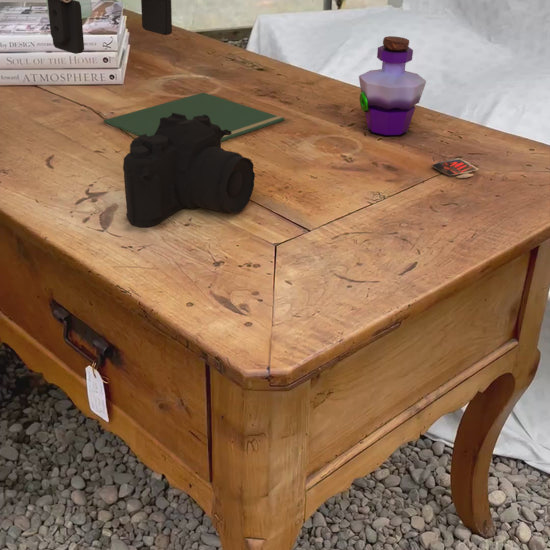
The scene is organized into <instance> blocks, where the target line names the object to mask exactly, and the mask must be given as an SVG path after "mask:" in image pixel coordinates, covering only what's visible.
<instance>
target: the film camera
mask: <svg viewBox="0 0 550 550" xmlns="http://www.w3.org/2000/svg"><path fill="white" fill-rule="evenodd" d="M224 135H231V131H229V130H226V129H225V130H221V129H220V127H219V126H218V125H215V124H212V123H211V121H210V118H209V117H208V116H207V115H203V116H195V117H193V119H192V120H187V118H186V116H185V115H182V114H177V113H172V115H171V116H169V117H167V118H166V117H163V118H160V124H159V127H158V129H157V131H156V132H155V134H154V135H152V136H147V135H146V134H144V135H141V136H137V137H135V138H134V139H132V140H131V142H130V144H129V152H128V153H127V154H126V155H125V156H124V157H123V164H122V170H123V181H124V182H123V183H124V194H125V205H126V215H125V217H126V219H127V221H128V223H130V225H131V226H135V227H138V228H142V229H143V228H150V227H154V226H157V225H158V224H160V223H162V222H163V221H165V220H167V219H168V218H169V217H171V216H172V215H174V214H175V213H177V212H179V211H181V210H183V209H187V208H189V209H190V210H196V209H199V208H201V209H205V210H212V211H216V212H218V213H222V214H228V213H232V214H237V213H240V212H242V211H243V210H244V209H245V208H246V206H247V205H248V204H249V202H250V200H251V198H252V194H253V192H254V188H255V178H256V173H255V172H254V166H255V165H254V162H253V161H252V159H250V158H249V157H244V156H243V155H242V154H240V153H238V152H235V151H229V150H225V149H224V148H222V142H221V138H222V137H223V136H224Z"/></svg>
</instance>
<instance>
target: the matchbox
mask: <svg viewBox="0 0 550 550" xmlns="http://www.w3.org/2000/svg"><path fill="white" fill-rule="evenodd" d="M431 167H432V168H434V169H436V171H439V172H440V173H442V174H445V175H446V176H449V177H450V176H454V177H456V178H457V179H458V178H459V179H463V178H464V179H466V178H467V179H468V178H470V177H473V176H474V175H475V173H473V172H474V171H475V172H476V171H478V170H479V168H477V167H476V166H474V165H473V164H471V163H470V161H465V160H463V159H462V158H460V157H457V158H453V159H452V158H450V159H448V160H443V161H438V162H436V163H434V164H432V165H431Z"/></svg>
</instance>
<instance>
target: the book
mask: <svg viewBox="0 0 550 550" xmlns="http://www.w3.org/2000/svg"><path fill="white" fill-rule="evenodd" d="M172 113H177V114H182V115H185V116H186V118H187V120H192V119H193V117H195V116H203V115H207V116H208V117H209V118H210V121H211V123H212V124H215V125H218V126H219V127H220V129H221V130H225V129H226V130H229V131H231V135H224V136H223V137H222V138H221V143H222V142H224V141H228V140H230V139H234V138H236V137H239V136H243V135H246V134H248V133H251V132H255V131H258V130H260V129H263V128H265V127H266V128H267V127H269V126H272V125H275V124H278V123H280V122H283V121H285V117H282V116H280V115H277V114H272V113H271V112H270V113H269V112H266V111H263V110H260V109H257V108H253V107H250V106H247V105H244V104H241V103H238V102H235V101H232V100H228V99H225V98H222V97H219V96H216V95H213V94H209V93H206V92H200V93H196V94H193V95H189V96H185V97H182V98H178V99H175V100H171V101H168V102H164V103H160V104H156V105H153V106H150V107H145V108H142V109H138V110H136V111H132V112H128V113H124V114H120V115H118V116H117V115H116V116H113V117H110V118H107V119H103V123H105V124H108V125H110V126H113V127H115V128H118V129H121V130H122V131H125V132H128V133H131V134H133V135H136V136H137V137H139V136H141V135H144V134H146V135H147V136H152V135H154V134H155V132H156V131H157V129H158V127H159V124H160V118H163V117H166V118H167V117H169V116H171V115H172Z"/></svg>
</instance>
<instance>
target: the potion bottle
mask: <svg viewBox="0 0 550 550" xmlns="http://www.w3.org/2000/svg"><path fill="white" fill-rule="evenodd" d="M413 55H414V49H412V48H411V47H410V39H408V38H405V37H401V36H394V35H391V36H390V35H388V36H384V37H383V40H382V45H381V46H378V47H377V52H376V58H377V59H378V60H379V61H381V62H382V63H381V68H380V69H379V68H378V69H371V70H368V71H366V72H363V73H362V74H360V75H358V80H359V87H360V93H359V104H360V109H361V111H362V112H363V113H365V118H366V125H367V127H365V129H366V130H367V131H368V132H369V133H370V134H372V135H376V136H379V137H383V138H393V137H395V138H396V137H403V136H405V135H406V134H408V133H409V127H410V125H411V122H412V119H413V116H414V113H415V110H416V105H417V104H420V101H421V98H422V95H423V93H424V90H425V86H426V84H427V80H426V79H425V78H423V77H422V76H421V75H419V73H416V72H411V71H408V70H406V64H407V63H409V62H411V61H413V57H414V56H413Z"/></svg>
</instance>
